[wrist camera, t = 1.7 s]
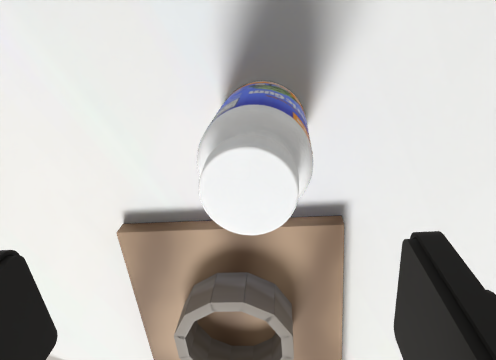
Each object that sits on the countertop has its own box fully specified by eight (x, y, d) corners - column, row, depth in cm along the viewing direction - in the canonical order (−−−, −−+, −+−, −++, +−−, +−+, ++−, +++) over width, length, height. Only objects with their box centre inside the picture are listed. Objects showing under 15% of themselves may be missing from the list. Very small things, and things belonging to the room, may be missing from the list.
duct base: (341, 215, 25) (352, 252, 21) (338, 371, 32) (346, 420, 28) (123, 223, 27) (97, 258, 23) (164, 369, 33) (149, 415, 30)
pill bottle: (323, 115, 22) (351, 183, 13) (270, 177, 24) (264, 272, 15) (252, 60, 21) (232, 95, 12) (203, 130, 23) (156, 203, 14)
